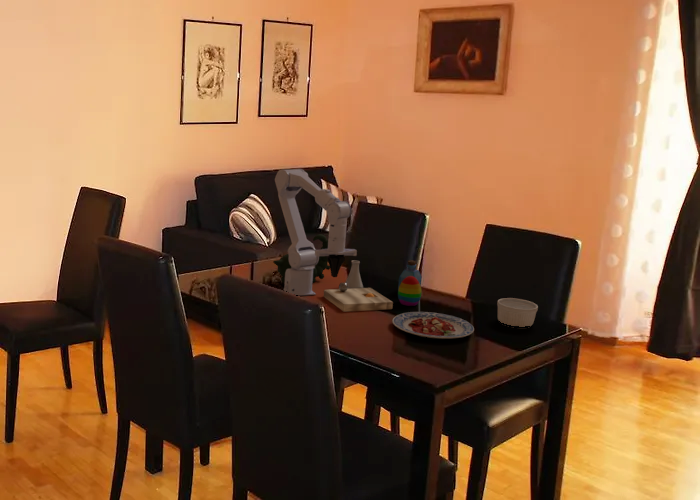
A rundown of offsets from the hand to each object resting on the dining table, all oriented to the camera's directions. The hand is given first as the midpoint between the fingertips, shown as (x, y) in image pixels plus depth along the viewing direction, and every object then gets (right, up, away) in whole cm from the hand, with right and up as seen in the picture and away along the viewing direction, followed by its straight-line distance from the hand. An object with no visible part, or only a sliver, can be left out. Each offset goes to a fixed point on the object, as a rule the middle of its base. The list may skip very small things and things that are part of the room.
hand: (334, 276), depth 273 cm
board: (+8, -9, +5) cm, 13 cm away
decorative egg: (+26, -10, +9) cm, 29 cm away
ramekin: (+61, -16, -5) cm, 63 cm away
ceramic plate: (+31, -17, -19) cm, 40 cm away
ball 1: (+3, -4, +8) cm, 9 cm away
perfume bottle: (+27, -7, +23) cm, 36 cm away
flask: (+7, -5, +25) cm, 26 cm away
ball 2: (+12, -8, +6) cm, 16 cm away
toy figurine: (-13, -3, +26) cm, 30 cm away
